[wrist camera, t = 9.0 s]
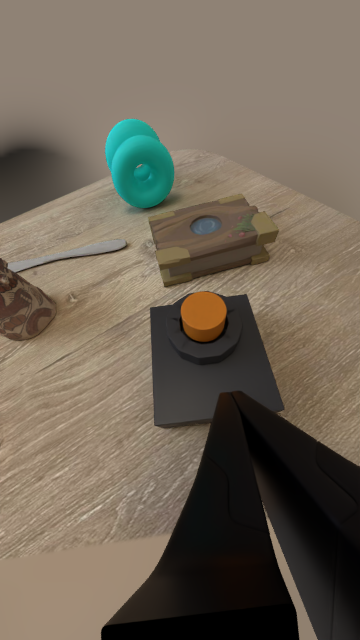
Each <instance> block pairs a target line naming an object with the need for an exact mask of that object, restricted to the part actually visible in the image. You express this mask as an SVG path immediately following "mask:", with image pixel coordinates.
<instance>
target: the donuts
mask: <svg viewBox="0 0 360 640" xmlns="http://www.w3.org/2000/svg"><path fill="white" fill-rule="evenodd" d="M105 154H106V160H107V163H108V167H109V169H110V171H111V174H112V180H113V183H114V186H115V188H116V190H117V192H118V194H119V195H120V196H121V197H122V198H123V199H124V200H125V201H126V202H127V203H129V204H130V205H132V206H135V207H139V208H150V207H153V206H156V205H158V204H159V203H161V202H162V201H163V200H164V199H165V198H166V197H167V195H168V194H169V192H170V190H171V188H172V185H173V181H174V165H173V161H172V158H171V156H170V154H169V152H168V150H167V149H166V148H165V146H163V145H162V143H160V140H159V138H158V136H157V134H156V133H155V131H154V130H153V129H152V128H151V127H150V126H149V125H148V124H146V123H145V122H143V121H140V120H137V119H126V120H123V121H121V122H119V123H118V124H116V125H115V126H114V127H113V128H112V130H111V131H110V133H109V135H108V138H107V141H106V148H105ZM140 164H142V165H141V166H140V167H138V168H136V167H137V166H138V165H140Z"/></svg>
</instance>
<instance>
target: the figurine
mask: <svg viewBox="0 0 360 640" xmlns="http://www.w3.org/2000/svg"><path fill="white" fill-rule="evenodd" d="M55 315H56V303H55V302H54V301H52V300H51V299H50V298H49V297H48V296H47V295H46V294H45V293H44V292H43V291H42V290H41V289H39V288H38V287H35V286H33V285H32V284H30V283H29V282H27V281H26V280H25V279H24V278H22V277H21V276H19V275H18V274H16V273H15V272H13V271H12V270H10V269H8V263H7V262H6V261H4V260H2V259H1V258H0V335H2V336H4V337H7V338H9V339H12V340H25V339H30V338H32V337H34V336H36V335H38V334H39V333H40V332H41V331H42V330H43V329H44V328H45V327H46V326H47V325H48V324H49V322H50V321H51V320H52V318H53V317H54V316H55Z"/></svg>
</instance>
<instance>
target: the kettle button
mask: <svg viewBox="0 0 360 640" xmlns="http://www.w3.org/2000/svg"><path fill="white" fill-rule="evenodd" d="M226 312H227V309H226V305H225V303H224V301H223V300H222V299H221V298H220V297H219V296H218V295H216V294H214V293H211V292H197V293H194V294H192V295H190V296H189V297H187V298H186V299H185V301H184V302H183V304H182V306H181V317H182V322H183V328H184V331H185V333H186V334H187V335H188V336H189V337H190V338H191V339H193V340H195V341H199V342H209V341H212V340H214V339H216V338H217V337H219V336H220V334H221V333H222V331H223V329H224V324H225V318H226Z"/></svg>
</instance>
